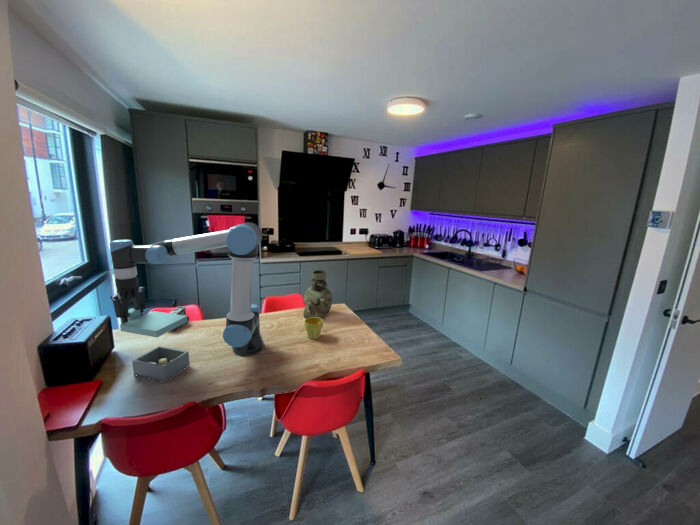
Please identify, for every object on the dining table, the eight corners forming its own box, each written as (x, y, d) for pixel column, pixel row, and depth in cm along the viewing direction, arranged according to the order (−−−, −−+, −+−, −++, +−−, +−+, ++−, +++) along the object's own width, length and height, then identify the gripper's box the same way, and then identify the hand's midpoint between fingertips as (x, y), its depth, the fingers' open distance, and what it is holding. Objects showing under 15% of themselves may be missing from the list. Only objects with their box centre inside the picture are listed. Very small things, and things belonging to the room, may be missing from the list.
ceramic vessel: (312, 325, 175) (313, 278, 168) (297, 313, 191) (297, 270, 185) (338, 319, 186) (340, 274, 179) (322, 308, 202) (323, 267, 196)
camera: (182, 331, 161) (180, 314, 158) (166, 331, 160) (165, 314, 158) (193, 321, 174) (192, 305, 172) (179, 321, 173) (177, 305, 171)
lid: (187, 322, 126) (186, 310, 125) (157, 338, 112) (155, 324, 110) (145, 316, 132) (143, 303, 130) (111, 330, 117) (109, 316, 116)
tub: (189, 365, 129) (188, 351, 128) (165, 382, 117) (163, 367, 116) (160, 359, 133) (159, 345, 132) (134, 375, 121) (131, 360, 119)
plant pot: (300, 338, 158) (300, 322, 156) (310, 331, 167) (310, 315, 165) (317, 342, 154) (317, 326, 152) (325, 334, 164) (326, 319, 162)
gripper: (138, 271, 128) (145, 319, 133) (97, 281, 112) (107, 336, 117) (152, 272, 126) (158, 321, 132) (112, 283, 110) (121, 338, 115)
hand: (134, 328), depth 124 cm, fingers closed on lid, 4 cm apart
